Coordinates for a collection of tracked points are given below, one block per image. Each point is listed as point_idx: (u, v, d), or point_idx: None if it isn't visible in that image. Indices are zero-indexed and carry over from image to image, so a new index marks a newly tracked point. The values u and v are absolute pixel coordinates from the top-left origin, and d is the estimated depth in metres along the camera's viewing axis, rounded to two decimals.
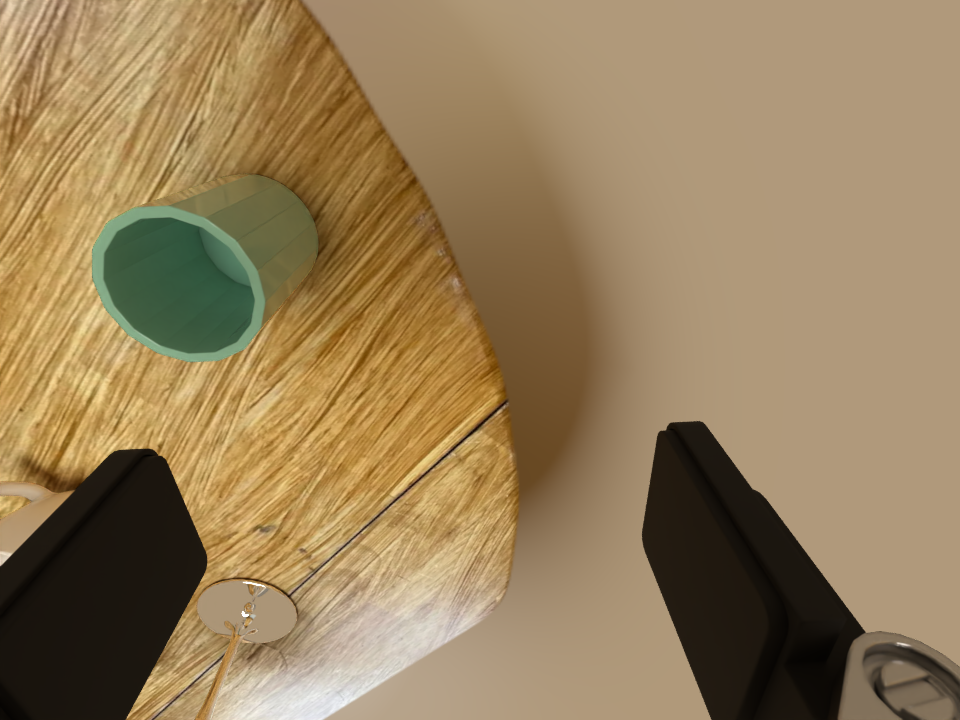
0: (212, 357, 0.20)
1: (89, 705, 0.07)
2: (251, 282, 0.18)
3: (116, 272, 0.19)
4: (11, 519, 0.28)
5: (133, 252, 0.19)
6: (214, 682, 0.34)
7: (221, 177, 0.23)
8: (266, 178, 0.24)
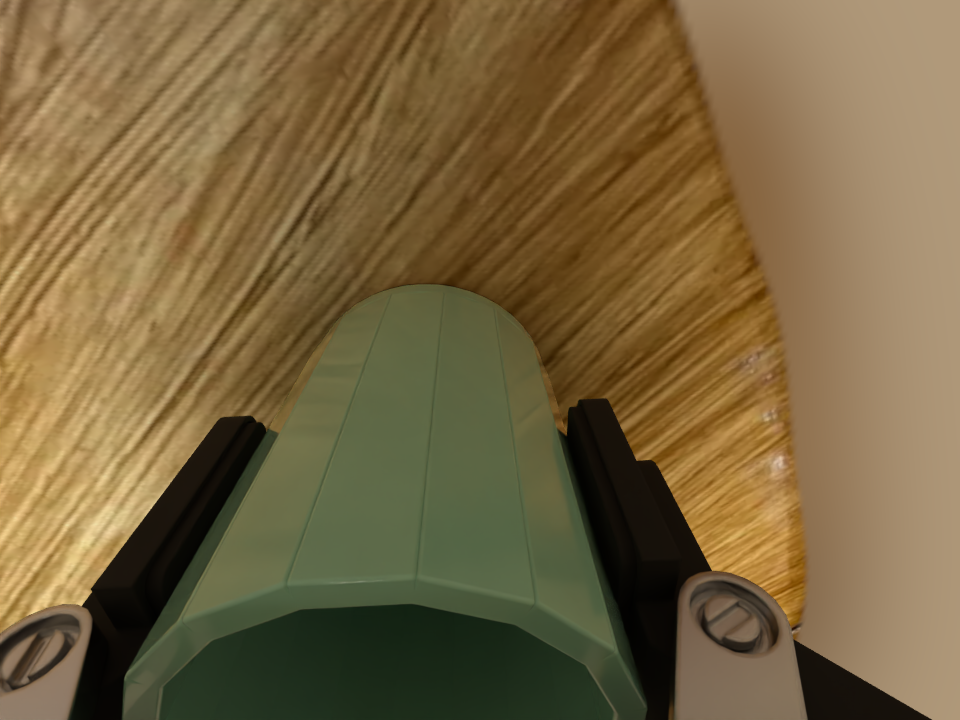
0: None
1: None
2: None
3: (188, 666, 0.06)
4: None
5: None
6: None
7: (387, 301, 0.11)
8: (470, 295, 0.11)
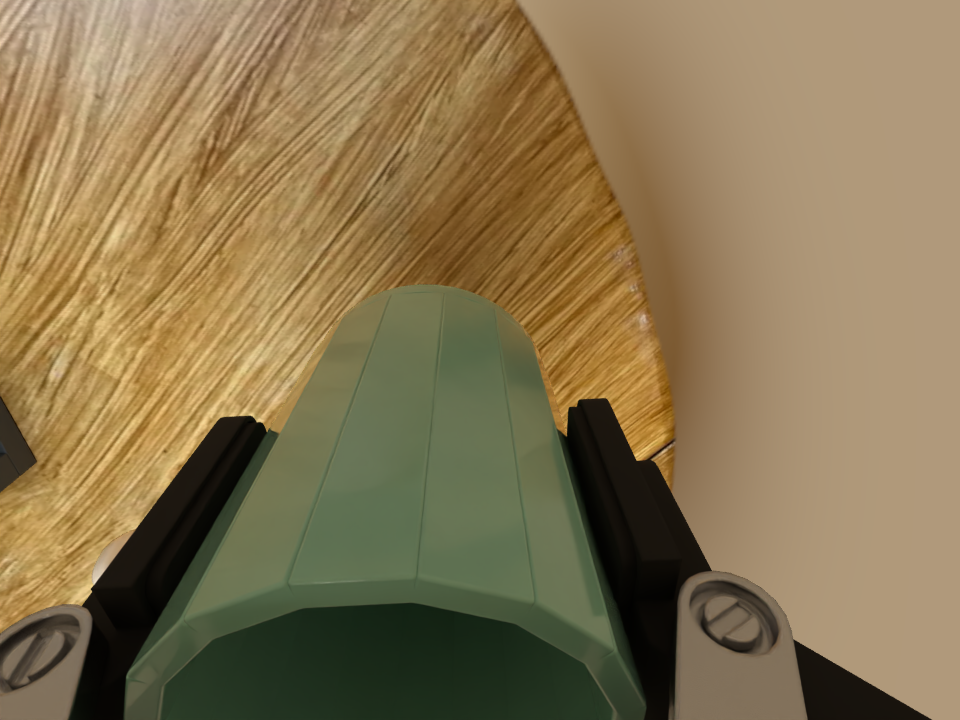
0: None
1: None
2: None
3: (191, 664, 0.06)
4: None
5: None
6: None
7: (387, 301, 0.11)
8: (470, 295, 0.11)
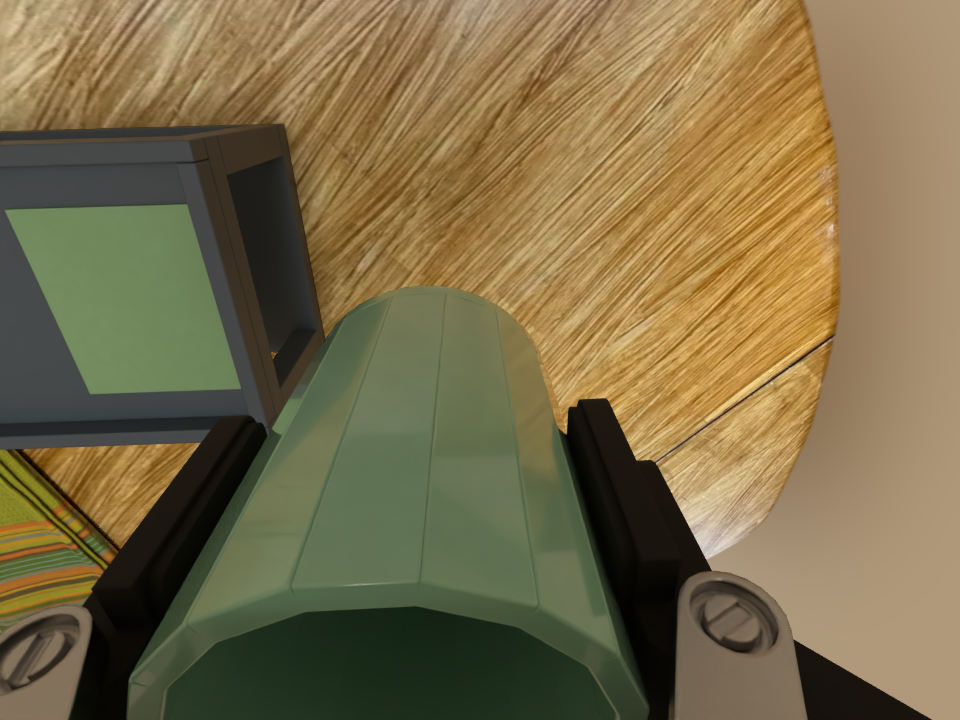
0: None
1: None
2: None
3: (192, 667, 0.06)
4: None
5: None
6: None
7: (388, 303, 0.11)
8: (471, 296, 0.11)
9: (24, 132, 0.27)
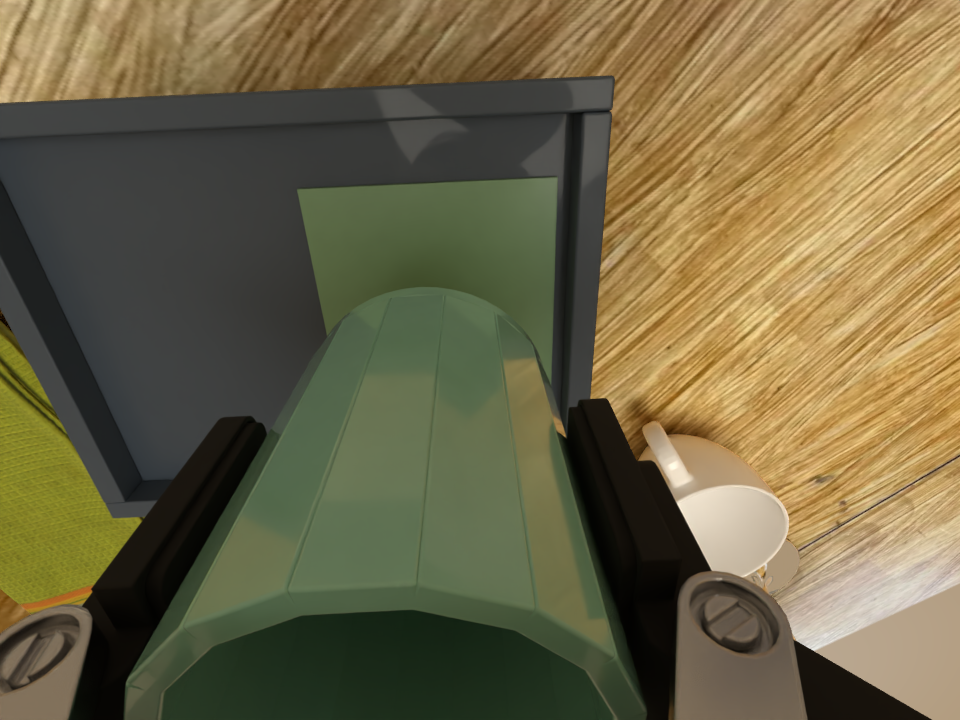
0: None
1: None
2: None
3: (190, 669, 0.06)
4: (702, 457, 0.27)
5: None
6: None
7: (387, 304, 0.11)
8: (470, 298, 0.11)
9: None
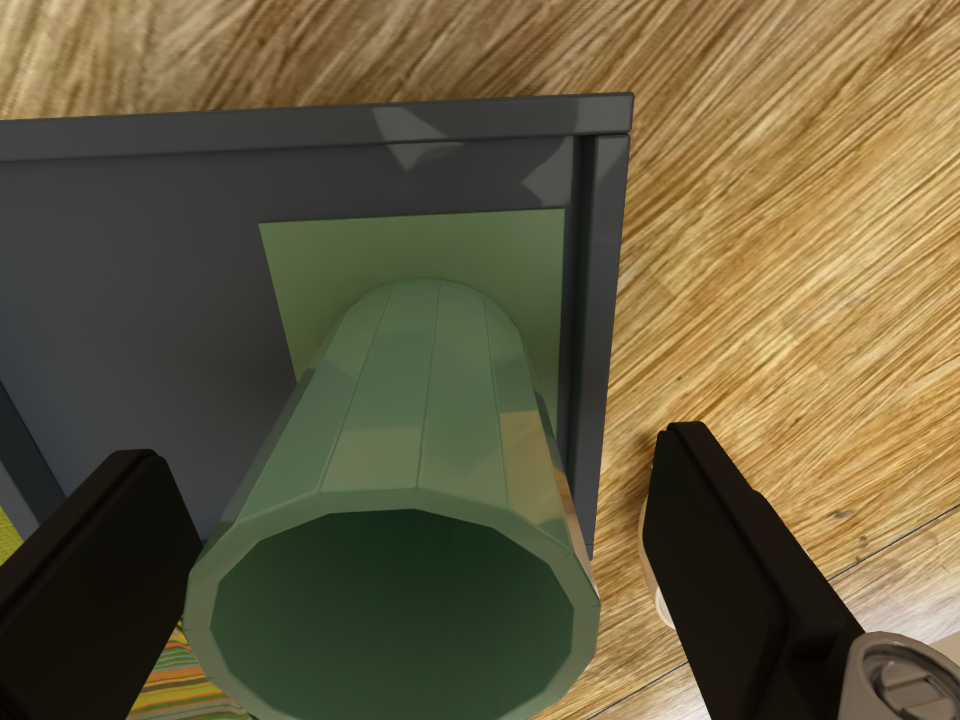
0: None
1: (89, 705, 0.07)
2: (578, 626, 0.07)
3: (231, 581, 0.08)
4: None
5: None
6: None
7: (389, 292, 0.12)
8: (462, 287, 0.13)
9: None
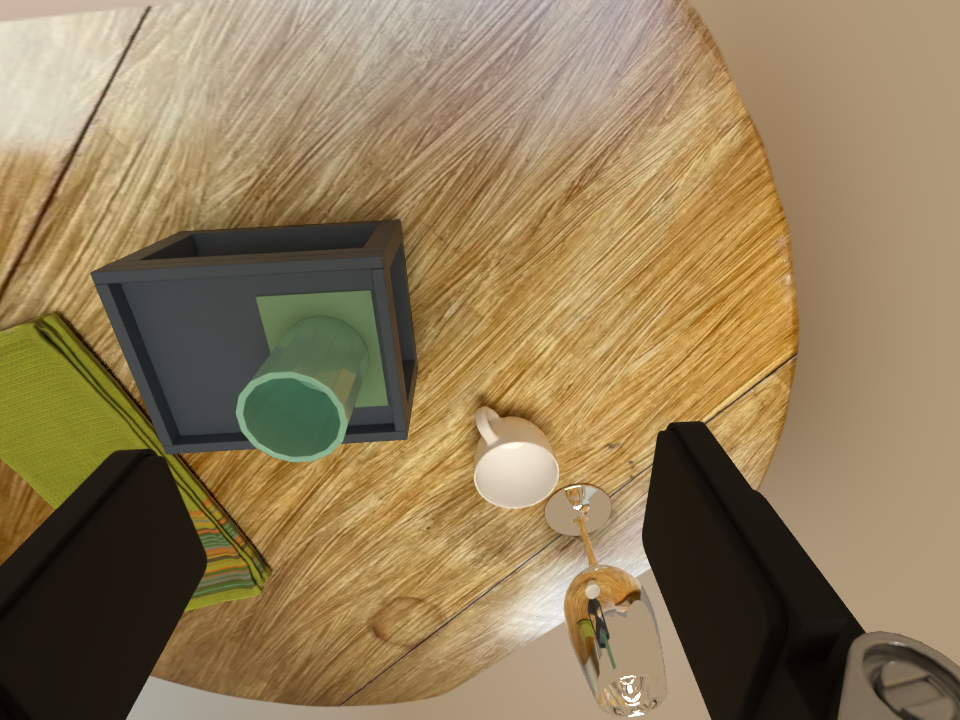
0: (309, 459, 0.29)
1: (89, 705, 0.07)
2: (339, 414, 0.28)
3: (248, 406, 0.28)
4: (509, 427, 0.45)
5: (256, 389, 0.29)
6: (588, 546, 0.51)
7: (304, 322, 0.33)
8: (334, 319, 0.33)
9: (225, 232, 0.40)
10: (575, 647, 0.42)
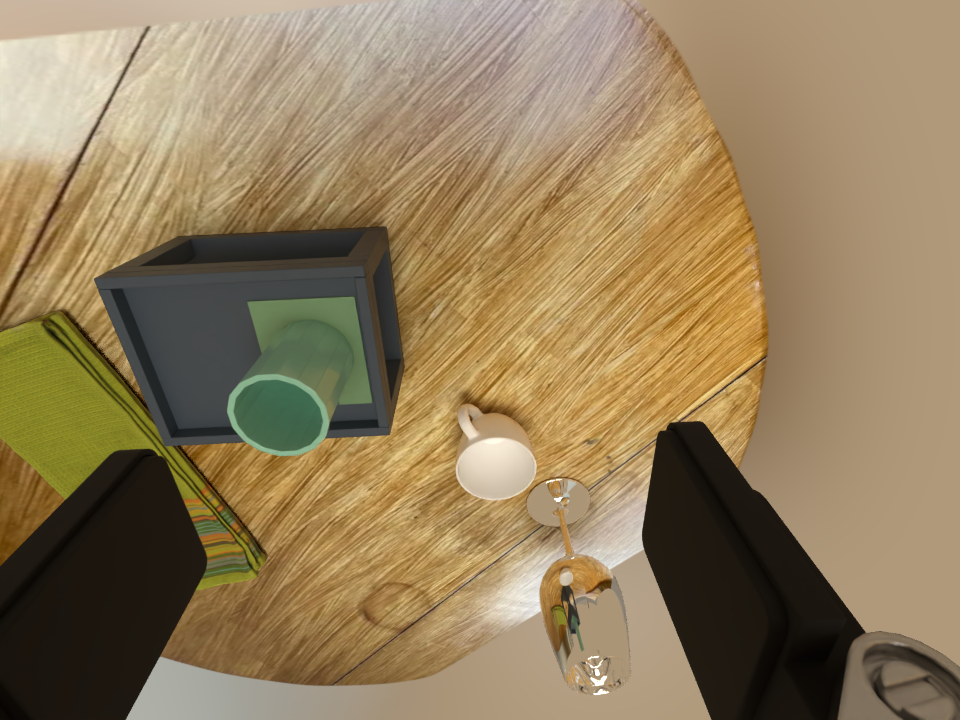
0: (294, 453, 0.32)
1: (89, 705, 0.07)
2: (321, 412, 0.30)
3: (238, 404, 0.31)
4: (489, 423, 0.48)
5: (246, 389, 0.31)
6: (565, 536, 0.54)
7: (292, 326, 0.35)
8: (320, 323, 0.36)
9: (221, 237, 0.42)
10: (547, 630, 0.45)
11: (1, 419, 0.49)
